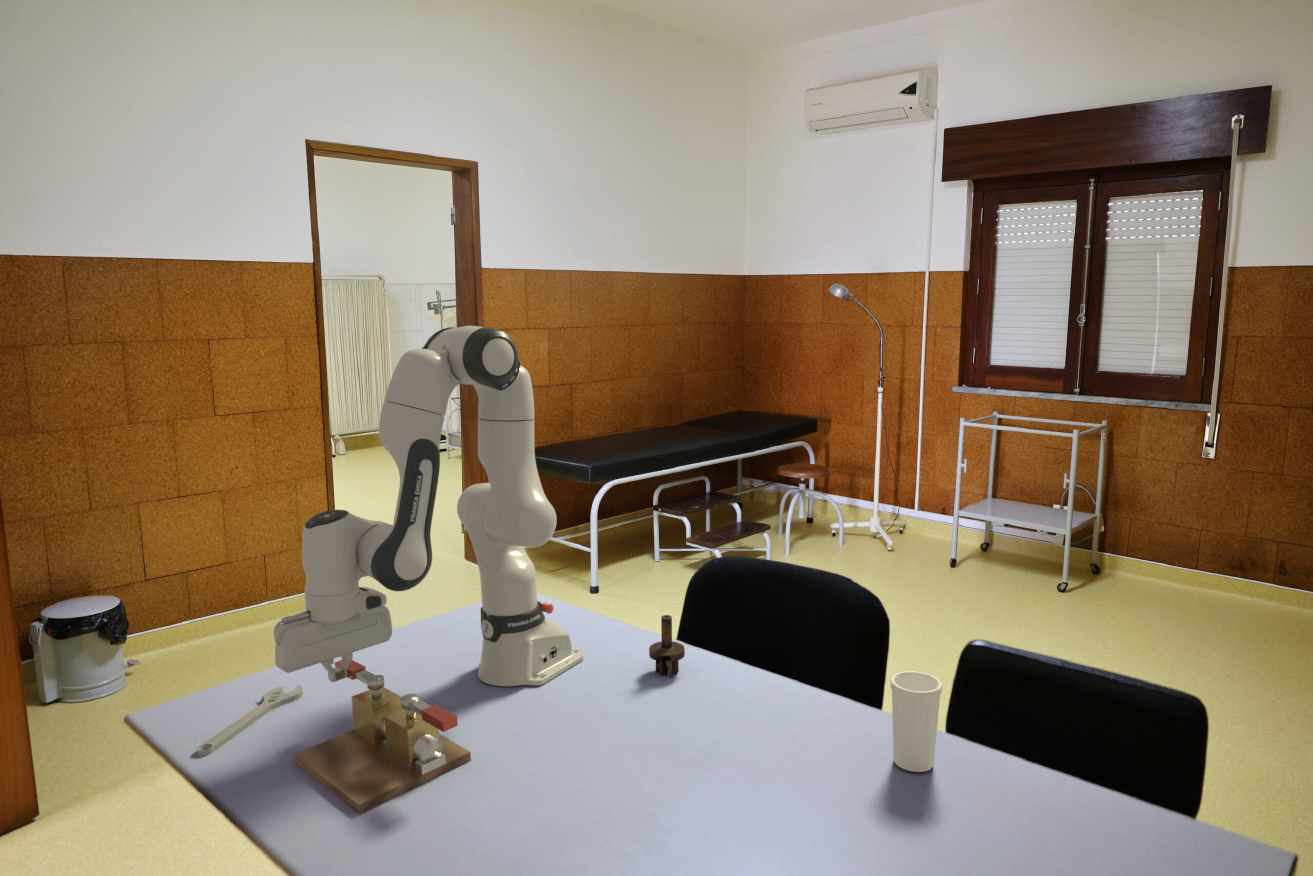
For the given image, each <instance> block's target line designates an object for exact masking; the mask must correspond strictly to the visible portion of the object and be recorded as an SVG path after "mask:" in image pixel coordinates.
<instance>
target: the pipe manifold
mask: <svg viewBox="0 0 1313 876" xmlns="http://www.w3.org/2000/svg"><path fill="white" fill-rule="evenodd" d="M419 697H420V696H419V695H418V694H417V693H407V694H404V695H403V696H400V695H398V694H397V693H395V692H394V691H392V690H390V689H388V688H386V687H384V686H383V687H382V688H380V689H375V690H371V689H368V690H364V691H363V692H362V691H361V692H360V693H358V694H354V695H352V696H351V705H352V707H351V708H352V719H353V721H352V726H353V728H352V730H354V733H355V735H357V736H358V737H360V738H362V739H363V740H365V741H366V742H368V743H369V744H371V745H372V746H374V747H378V746H380V745H382V744H383V749H384V750H385V751H387V755H388V756H389V757H390V758H392V759H393V760H395V761H396V762H398V763H399V764H401V765H402V766H404V767H405V768H407V769H408V770H410V771H411V770H413V769H415V770H416V771H417V772H419V773H420V774H422V775H423V774H425V773H427V772H429V771H431V770H434V769H436V768H438V767H440V766H442V765H444V764H446V758H445V755H444V754H443V753H442V750H443V744H442V742H441V741H440V740H439V734H440V732H442V733H444V732H447V731H450V730H451V729H453V728H456V727H458V726H459V725H458V724H459V723H458V716H457V715H456V714H454V713H452V712H450V711H448V710H447V709H445V708H443V707H442V706H440V705H437V704H433V705H431V704H429V703H428V702H426V701H424V700H421V699H420V698H419ZM439 731H440V732H439Z"/></svg>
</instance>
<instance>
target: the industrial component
mask: <svg viewBox="0 0 1313 876" xmlns="http://www.w3.org/2000/svg"><path fill="white" fill-rule="evenodd" d="M660 619H661V621H660V622H661V624H660V625H661V628H660V629H661V631H660V632H661V641H658V642H654V643H652V644H651V645H650V646H649V647H648V648H649V649H648V651H649V652H648V653H649V654H648V656H649V659H652V660H654V661H655V673H656V675H657V676H660V677H663V676H667V679H670V678H673V676H676V675H678V674H679V671H680V669H679V667H680V666H679V661H681V660H682V659H683V658H684V657H685V646H684V645H683V644H682V643H680V642H677V641H673V617H672V615H669V614H664V615H661V618H660Z"/></svg>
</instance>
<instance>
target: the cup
mask: <svg viewBox="0 0 1313 876" xmlns="http://www.w3.org/2000/svg"><path fill="white" fill-rule="evenodd" d="M889 682H890V689H891V705H892V709H891V710H892V745H893V747H892V749H893V750H892V751H893V752H892V753H893V761H894V764H895V765H896V766H897V767H899V768H901V769H903V770H904V771H908V772H915V773H924V772H928V771H930V770H931V769H932V768H933V767H934V764H935V755H936V745H937V744H936V743H937V735H938V733H937V731H938V725H939V724H938V721H939V711H940V710H939V709H940V701H941V695H942V693H943V688H944V687H943V684H942V681H941V680H939V678H937V677H936V676H934V675H932V674H929V673H926V672H920V671H910V670H909V671H908V670H907V671H900V672H897V673H895V674H892V676H891V678H890V679H889Z"/></svg>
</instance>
